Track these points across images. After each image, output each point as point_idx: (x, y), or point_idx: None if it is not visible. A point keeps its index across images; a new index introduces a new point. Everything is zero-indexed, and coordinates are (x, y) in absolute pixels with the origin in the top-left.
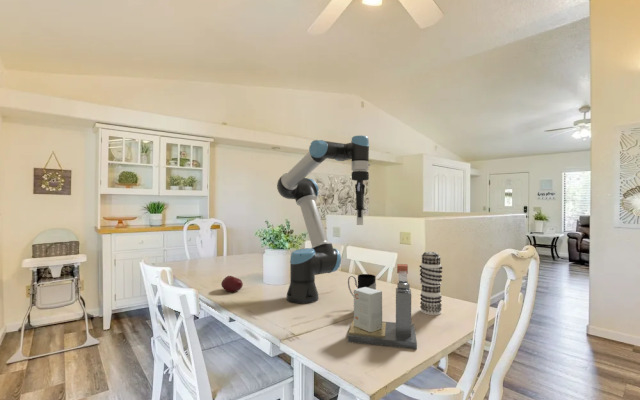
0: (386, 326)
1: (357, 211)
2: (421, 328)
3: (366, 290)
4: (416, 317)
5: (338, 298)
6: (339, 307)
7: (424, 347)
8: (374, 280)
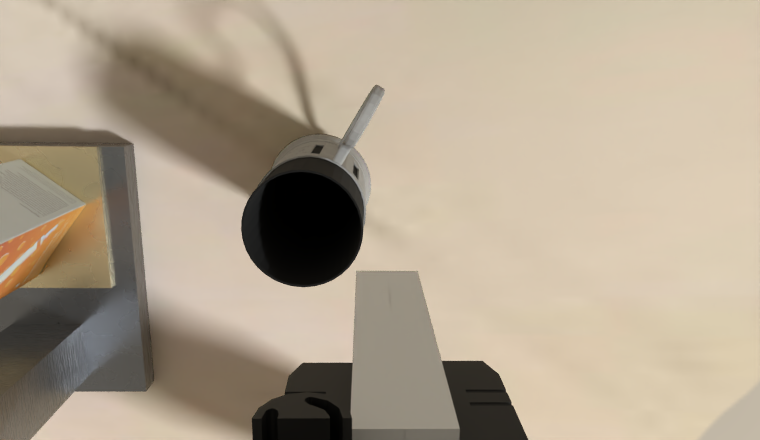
0: (82, 289)
1: (352, 423)
2: (177, 405)
3: None
4: None
5: (505, 7)
6: (346, 40)
7: None
8: (282, 274)
